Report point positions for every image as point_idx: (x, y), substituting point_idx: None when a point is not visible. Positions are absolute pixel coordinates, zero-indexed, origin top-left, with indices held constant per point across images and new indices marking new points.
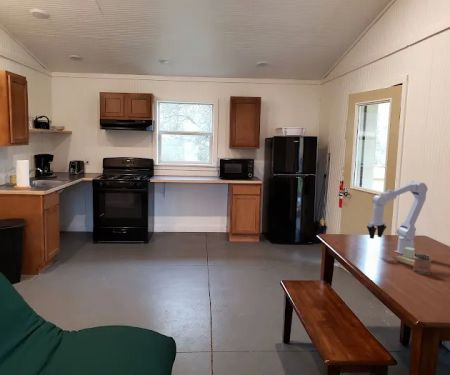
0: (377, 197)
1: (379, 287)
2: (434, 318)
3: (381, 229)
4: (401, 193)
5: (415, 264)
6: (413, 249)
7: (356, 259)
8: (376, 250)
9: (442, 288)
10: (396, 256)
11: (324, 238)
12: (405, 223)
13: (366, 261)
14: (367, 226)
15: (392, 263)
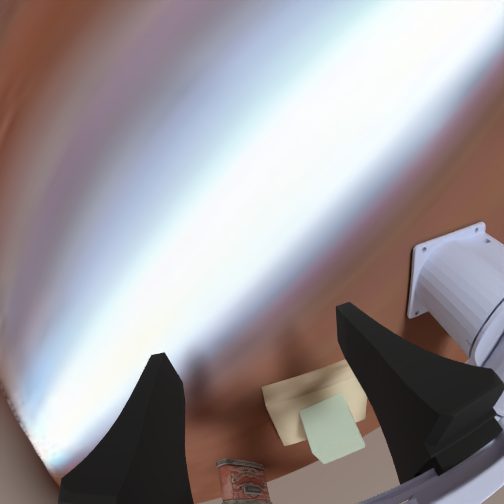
0: None
1: (51, 475)
2: None
3: (388, 427)
4: None
5: (221, 488)
6: (341, 456)
7: (25, 346)
8: (315, 187)
9: (201, 500)
10: (266, 405)
11: None
12: None
13: (68, 378)
14: (62, 502)
15: (199, 414)
